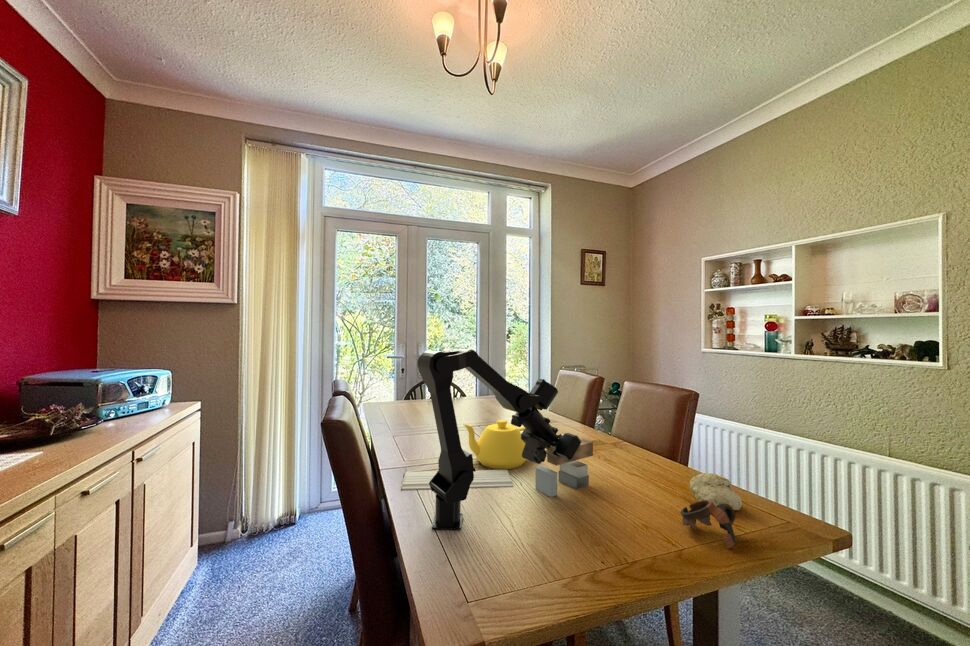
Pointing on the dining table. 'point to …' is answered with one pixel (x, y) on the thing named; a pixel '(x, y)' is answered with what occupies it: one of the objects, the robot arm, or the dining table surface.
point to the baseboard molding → (480, 481)
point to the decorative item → (714, 490)
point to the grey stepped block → (574, 474)
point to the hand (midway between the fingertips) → (564, 456)
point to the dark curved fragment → (702, 514)
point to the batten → (582, 452)
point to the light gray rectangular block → (546, 481)
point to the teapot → (498, 445)
